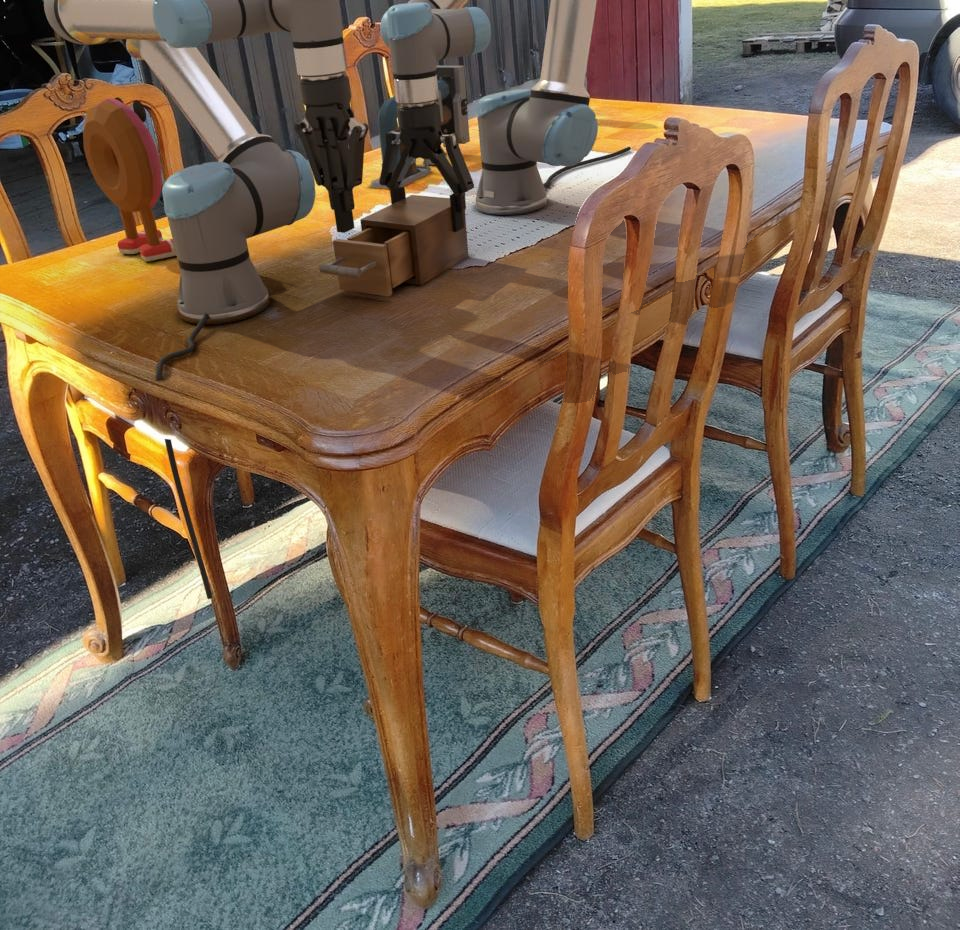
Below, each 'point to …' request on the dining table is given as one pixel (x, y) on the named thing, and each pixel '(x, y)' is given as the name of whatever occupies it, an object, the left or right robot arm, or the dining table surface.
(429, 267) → the cabinet
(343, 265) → the drawer
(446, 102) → the clamp
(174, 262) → the dining table surface
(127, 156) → the toy
